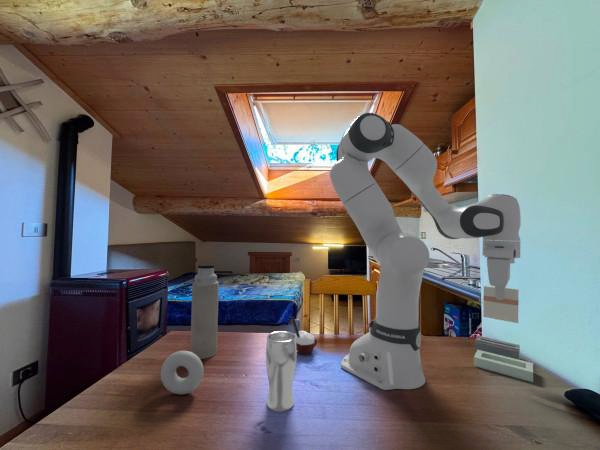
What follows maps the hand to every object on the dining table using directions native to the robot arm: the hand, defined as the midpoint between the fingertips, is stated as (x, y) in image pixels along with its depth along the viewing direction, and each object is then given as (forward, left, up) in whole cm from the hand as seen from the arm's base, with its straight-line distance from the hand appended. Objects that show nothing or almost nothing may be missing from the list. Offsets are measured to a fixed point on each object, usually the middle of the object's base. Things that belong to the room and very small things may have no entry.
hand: (500, 298), depth 79 cm
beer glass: (-36, -53, -21) cm, 67 cm away
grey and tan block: (-1, +8, -21) cm, 22 cm away
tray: (+1, -1, -21) cm, 21 cm away
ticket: (0, 0, -6) cm, 6 cm away
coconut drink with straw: (-49, -29, -21) cm, 61 cm away
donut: (-56, -66, -21) cm, 89 cm away
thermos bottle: (-72, -51, -21) cm, 91 cm away
